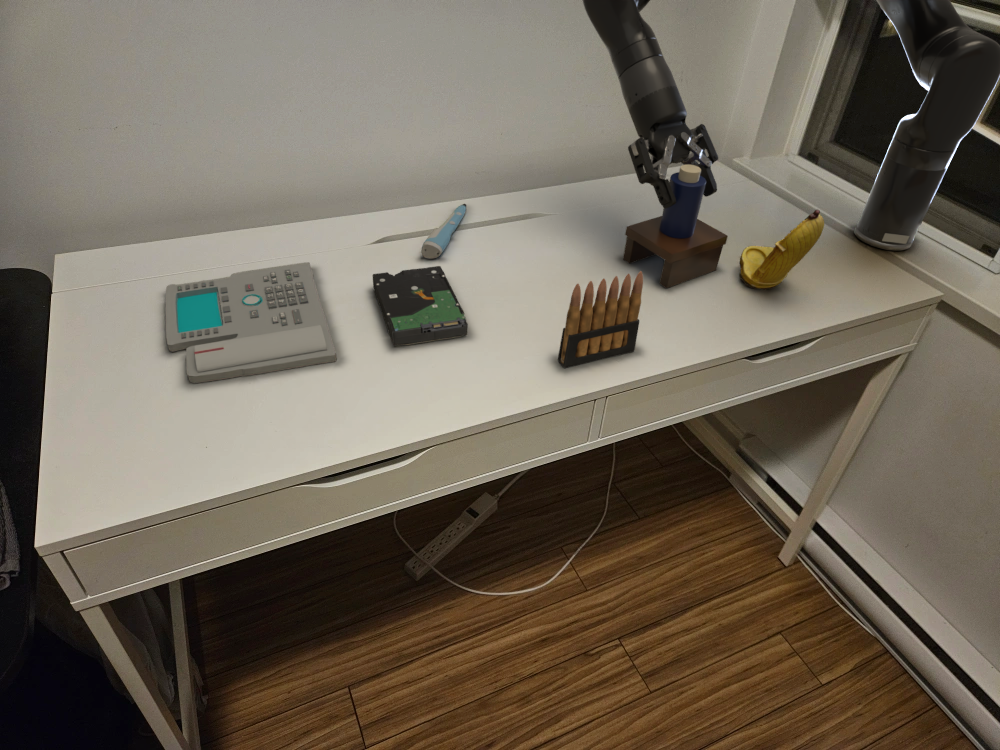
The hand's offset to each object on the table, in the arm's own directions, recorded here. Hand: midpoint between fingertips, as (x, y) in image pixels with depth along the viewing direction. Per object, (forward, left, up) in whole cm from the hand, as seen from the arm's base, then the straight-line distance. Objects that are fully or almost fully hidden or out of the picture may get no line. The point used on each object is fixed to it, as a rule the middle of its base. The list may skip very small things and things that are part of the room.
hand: (691, 200), depth 103 cm
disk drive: (+41, -9, -12) cm, 44 cm away
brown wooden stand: (0, -1, -12) cm, 12 cm away
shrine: (-9, +11, -12) cm, 18 cm away
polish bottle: (0, -1, -6) cm, 6 cm away
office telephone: (+62, -18, -12) cm, 66 cm away
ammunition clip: (+26, +11, -12) cm, 30 cm away
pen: (+26, -27, -12) cm, 39 cm away
